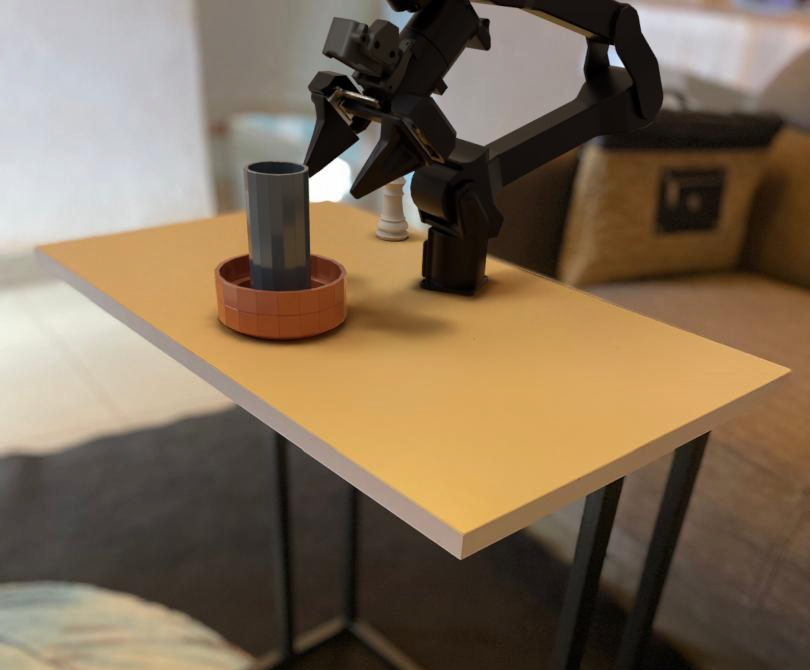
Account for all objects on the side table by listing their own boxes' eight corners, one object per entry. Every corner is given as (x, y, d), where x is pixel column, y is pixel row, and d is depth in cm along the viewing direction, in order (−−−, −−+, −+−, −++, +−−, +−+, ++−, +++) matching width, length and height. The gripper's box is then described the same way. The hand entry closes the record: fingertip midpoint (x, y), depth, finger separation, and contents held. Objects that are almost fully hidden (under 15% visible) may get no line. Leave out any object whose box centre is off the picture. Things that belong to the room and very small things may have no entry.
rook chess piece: (368, 236, 112) (369, 172, 107) (388, 229, 115) (390, 167, 110) (396, 243, 110) (398, 178, 105) (415, 236, 113) (418, 173, 108)
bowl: (366, 310, 90) (367, 263, 87) (308, 353, 80) (307, 301, 77) (260, 289, 93) (258, 243, 90) (193, 328, 83) (187, 278, 81)
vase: (284, 298, 90) (278, 157, 81) (323, 313, 87) (321, 168, 78) (240, 312, 86) (230, 166, 78) (280, 328, 83) (273, 178, 75)
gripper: (322, -25, 81) (227, 109, 82) (439, -13, 69) (325, 145, 70) (387, 65, 89) (300, 185, 90) (501, 90, 77) (399, 229, 78)
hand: (327, 185), depth 82 cm, fingers open, 9 cm apart
